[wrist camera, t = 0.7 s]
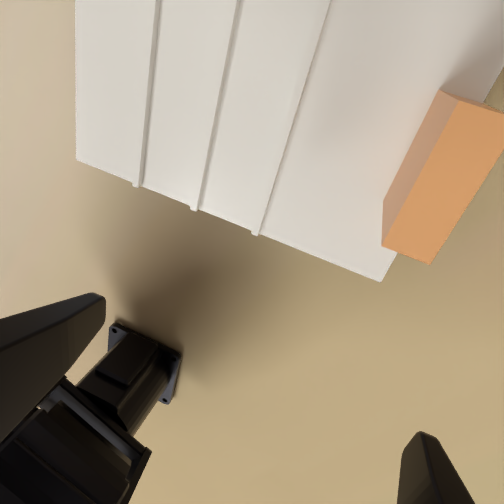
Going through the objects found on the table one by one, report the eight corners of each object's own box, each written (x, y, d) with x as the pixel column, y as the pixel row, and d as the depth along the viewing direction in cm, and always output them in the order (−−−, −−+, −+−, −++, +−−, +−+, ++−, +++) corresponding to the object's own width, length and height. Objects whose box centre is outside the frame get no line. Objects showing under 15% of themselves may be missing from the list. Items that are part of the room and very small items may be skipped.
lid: (380, 275, 16) (378, 345, 12) (84, 157, 18) (0, 182, 14) (547, -20, 10) (646, -73, 6) (87, -138, 12) (-50, -230, 8)
